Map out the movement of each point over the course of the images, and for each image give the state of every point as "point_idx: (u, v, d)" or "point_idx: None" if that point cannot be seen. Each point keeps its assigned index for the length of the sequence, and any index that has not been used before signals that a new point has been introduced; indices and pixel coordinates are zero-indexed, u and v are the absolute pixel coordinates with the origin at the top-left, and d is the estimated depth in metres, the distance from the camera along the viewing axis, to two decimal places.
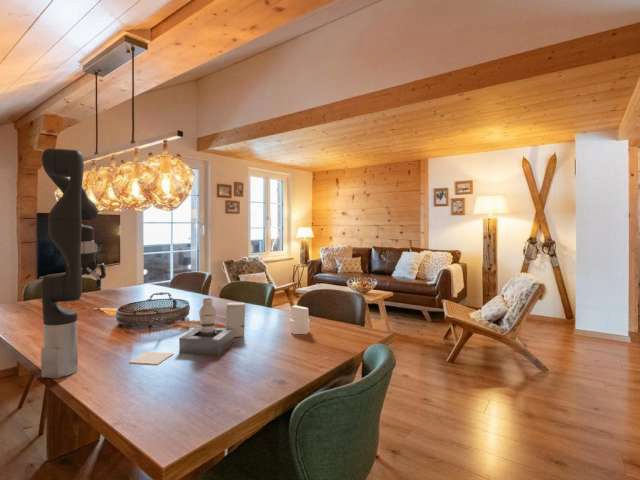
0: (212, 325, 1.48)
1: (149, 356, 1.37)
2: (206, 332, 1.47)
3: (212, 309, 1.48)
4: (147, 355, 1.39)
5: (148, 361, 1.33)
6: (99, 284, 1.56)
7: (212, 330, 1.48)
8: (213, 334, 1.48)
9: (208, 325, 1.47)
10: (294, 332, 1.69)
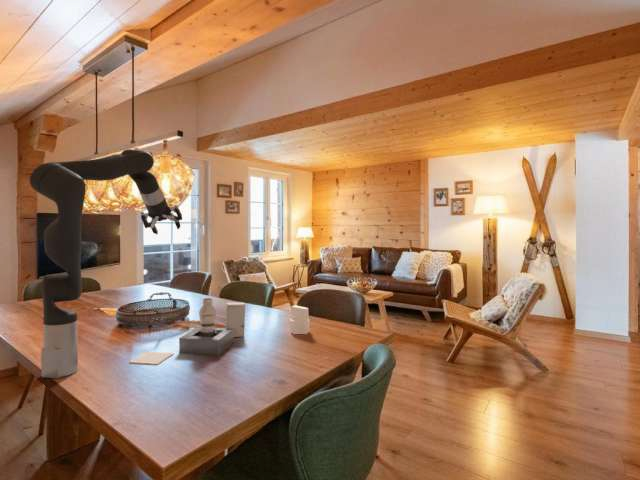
0: (212, 325, 1.48)
1: (149, 356, 1.37)
2: (206, 332, 1.47)
3: (212, 309, 1.48)
4: (147, 355, 1.39)
5: (148, 361, 1.33)
6: (179, 225, 1.48)
7: (212, 330, 1.48)
8: (213, 334, 1.48)
9: (208, 325, 1.47)
10: (294, 332, 1.69)
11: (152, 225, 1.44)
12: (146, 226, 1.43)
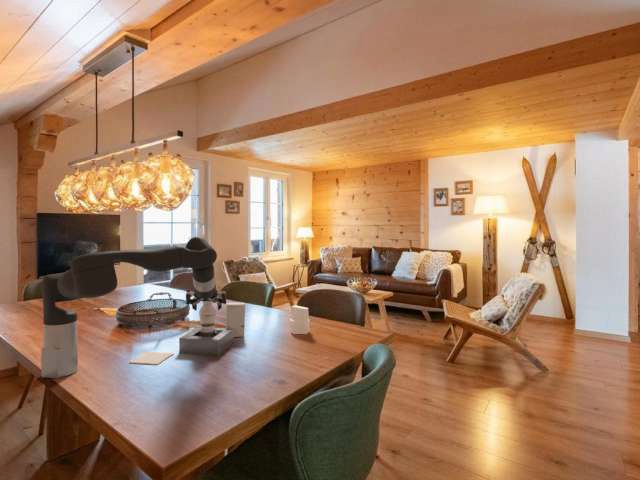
0: (212, 325, 1.48)
1: (149, 356, 1.37)
2: (206, 332, 1.47)
3: (212, 309, 1.48)
4: (147, 355, 1.39)
5: (148, 361, 1.33)
6: (220, 307, 1.40)
7: (212, 330, 1.48)
8: (213, 334, 1.48)
9: (208, 325, 1.47)
10: (294, 332, 1.69)
11: (194, 303, 1.35)
12: (188, 303, 1.34)
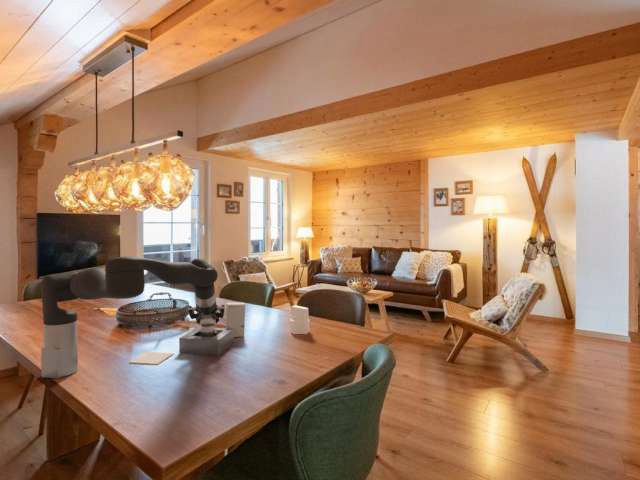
0: (212, 325, 1.48)
1: (149, 356, 1.37)
2: (206, 332, 1.47)
3: None
4: (147, 355, 1.39)
5: (148, 361, 1.33)
6: (218, 320, 1.50)
7: (212, 330, 1.48)
8: (213, 334, 1.48)
9: (208, 325, 1.47)
10: (294, 332, 1.69)
11: (198, 318, 1.46)
12: (192, 318, 1.45)
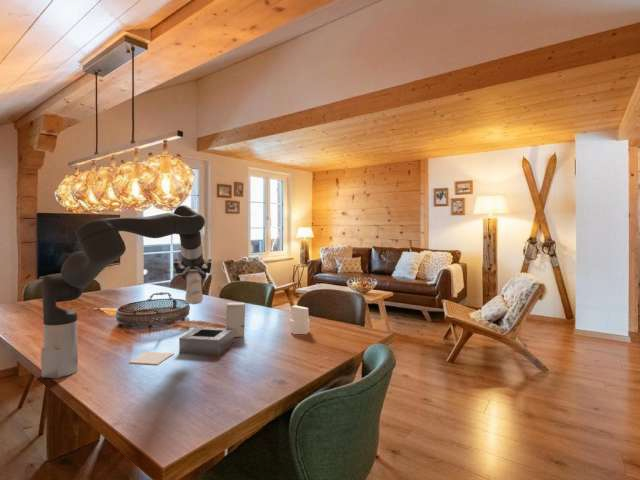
0: (199, 280, 1.44)
1: (149, 356, 1.37)
2: (193, 287, 1.43)
3: None
4: (147, 355, 1.39)
5: (148, 361, 1.33)
6: (204, 276, 1.47)
7: (199, 286, 1.45)
8: (200, 290, 1.45)
9: (194, 281, 1.43)
10: (294, 332, 1.69)
11: (184, 272, 1.42)
12: (178, 272, 1.41)
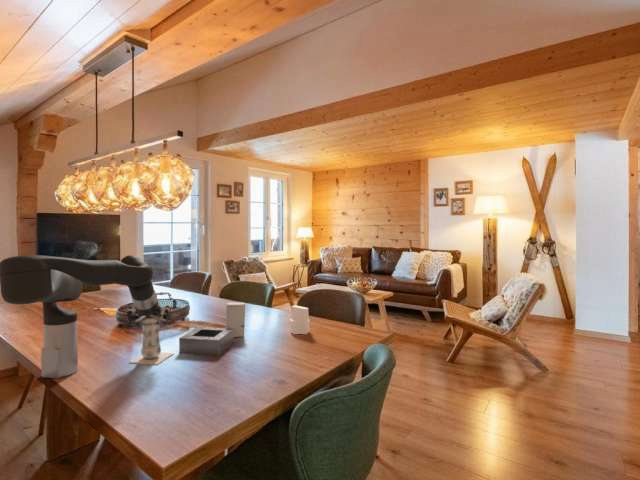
0: (155, 333, 1.35)
1: None
2: (149, 341, 1.34)
3: None
4: None
5: (148, 361, 1.33)
6: (166, 323, 1.37)
7: (155, 339, 1.35)
8: (157, 343, 1.35)
9: (150, 334, 1.34)
10: (294, 332, 1.69)
11: (137, 320, 1.32)
12: (130, 320, 1.32)
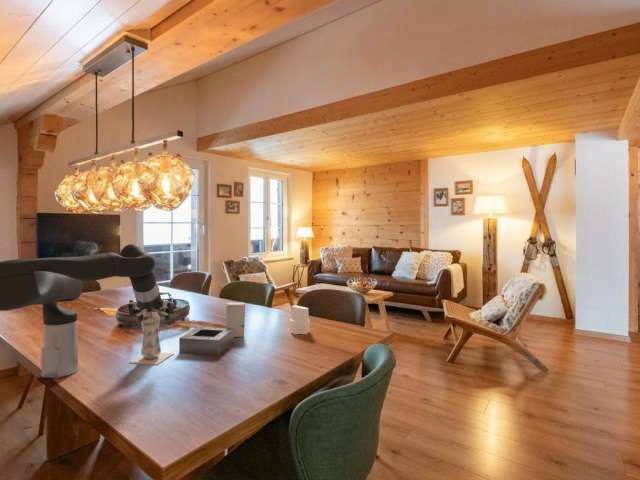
0: (155, 333, 1.35)
1: None
2: (149, 341, 1.34)
3: (155, 315, 1.35)
4: None
5: (148, 361, 1.33)
6: (168, 317, 1.33)
7: (155, 338, 1.35)
8: (156, 343, 1.35)
9: (150, 333, 1.34)
10: (294, 332, 1.69)
11: (138, 314, 1.28)
12: (131, 314, 1.27)
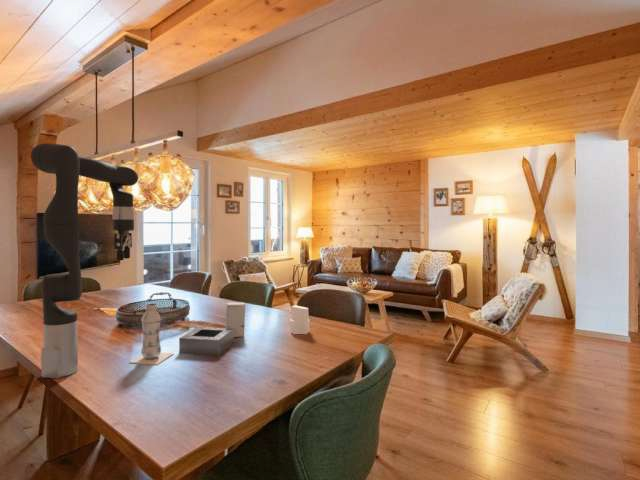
0: (156, 333, 1.35)
1: None
2: (149, 341, 1.33)
3: (156, 315, 1.35)
4: None
5: (148, 361, 1.33)
6: None
7: (156, 339, 1.35)
8: (157, 343, 1.35)
9: (151, 334, 1.34)
10: (294, 332, 1.69)
11: (123, 247, 1.41)
12: (121, 247, 1.39)
